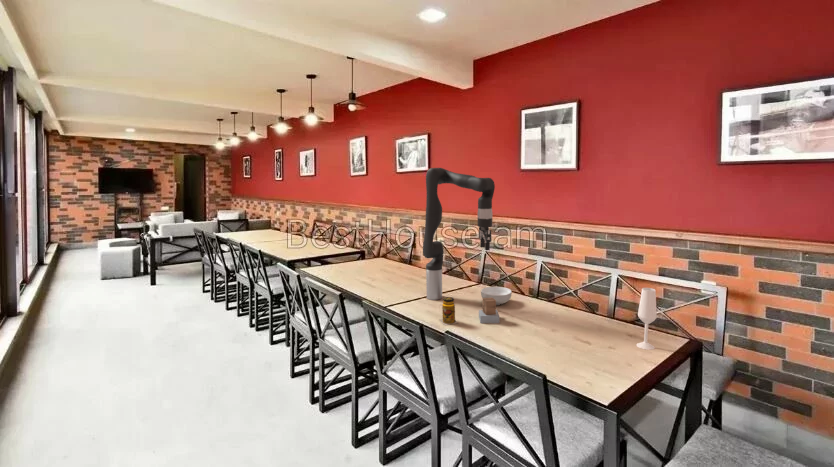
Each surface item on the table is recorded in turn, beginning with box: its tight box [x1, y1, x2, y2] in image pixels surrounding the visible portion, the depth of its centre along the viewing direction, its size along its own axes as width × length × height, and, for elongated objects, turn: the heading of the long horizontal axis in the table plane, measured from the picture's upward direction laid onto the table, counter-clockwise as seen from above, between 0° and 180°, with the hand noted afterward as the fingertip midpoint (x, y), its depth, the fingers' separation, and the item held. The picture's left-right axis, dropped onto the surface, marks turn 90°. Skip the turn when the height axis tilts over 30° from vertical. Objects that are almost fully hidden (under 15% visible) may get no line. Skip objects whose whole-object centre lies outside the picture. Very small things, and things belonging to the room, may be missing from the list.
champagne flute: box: [635, 287, 658, 351], centre depth 169 cm, size 7×7×24 cm
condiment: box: [438, 296, 459, 326], centre depth 204 cm, size 7×8×12 cm
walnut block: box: [482, 298, 497, 315], centre depth 204 cm, size 5×5×7 cm
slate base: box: [478, 309, 500, 324], centre depth 206 cm, size 9×9×4 cm
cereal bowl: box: [480, 286, 512, 306], centre depth 232 cm, size 17×17×7 cm
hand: (484, 248), depth 215 cm, fingers open, 8 cm apart
